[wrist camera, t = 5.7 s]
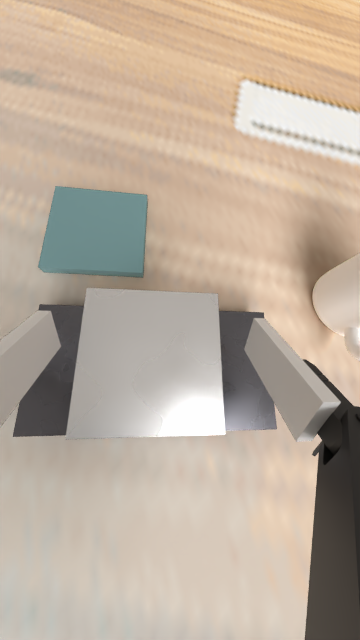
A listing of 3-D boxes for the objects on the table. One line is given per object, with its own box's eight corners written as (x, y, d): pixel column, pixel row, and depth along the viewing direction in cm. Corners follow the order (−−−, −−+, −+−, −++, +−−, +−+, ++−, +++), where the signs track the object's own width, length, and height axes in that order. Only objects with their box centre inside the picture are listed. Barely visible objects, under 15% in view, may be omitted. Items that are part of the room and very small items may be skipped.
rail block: (34, 426, 16) (12, 436, 14) (55, 312, 19) (39, 304, 16) (261, 421, 18) (276, 429, 16) (251, 319, 21) (263, 312, 18)
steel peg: (131, 390, 18) (65, 439, 5) (134, 343, 19) (86, 287, 6) (179, 390, 18) (224, 434, 6) (179, 344, 19) (217, 293, 7)
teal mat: (44, 272, 20) (38, 267, 19) (60, 194, 22) (55, 186, 21) (143, 277, 21) (142, 272, 20) (147, 202, 23) (147, 194, 22)
